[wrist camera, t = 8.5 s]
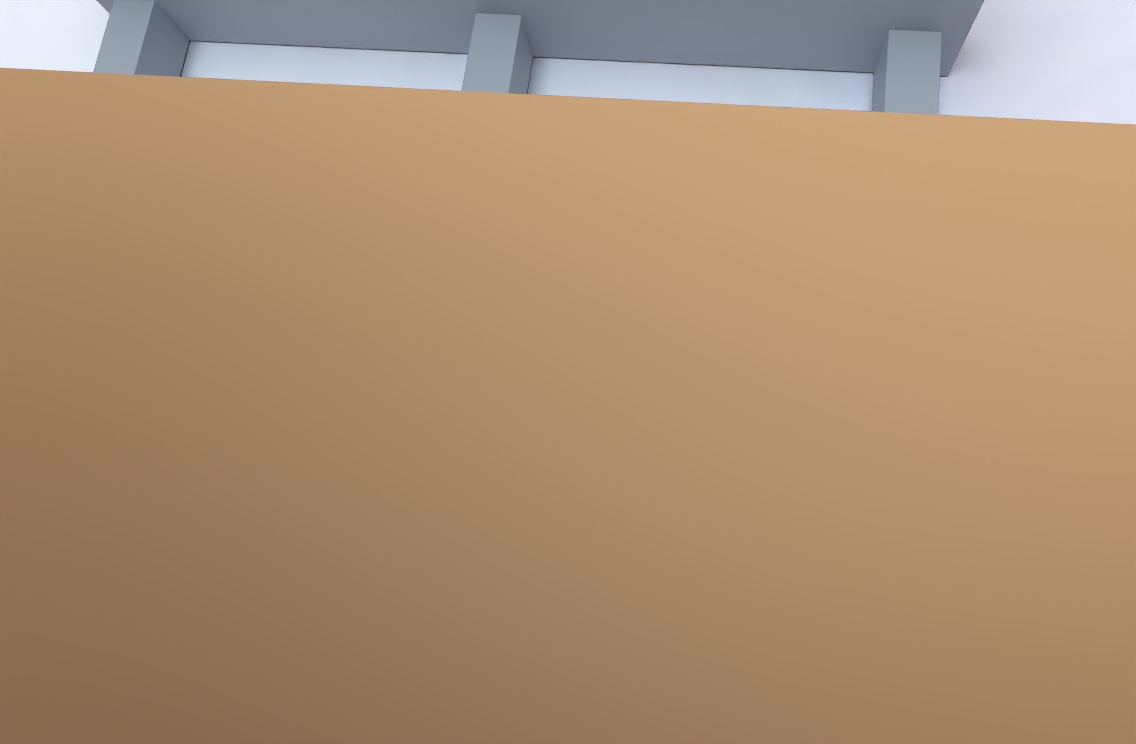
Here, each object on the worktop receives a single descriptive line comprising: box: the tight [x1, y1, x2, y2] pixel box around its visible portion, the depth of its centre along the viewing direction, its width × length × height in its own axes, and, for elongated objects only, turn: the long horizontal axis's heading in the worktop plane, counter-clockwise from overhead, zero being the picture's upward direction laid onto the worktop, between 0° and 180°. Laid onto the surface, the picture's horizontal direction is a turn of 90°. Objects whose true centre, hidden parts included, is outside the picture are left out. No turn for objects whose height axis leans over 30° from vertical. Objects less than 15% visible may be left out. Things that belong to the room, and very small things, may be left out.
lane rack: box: [93, 0, 984, 115], centre depth 15 cm, size 10×19×10 cm, turn 82°
